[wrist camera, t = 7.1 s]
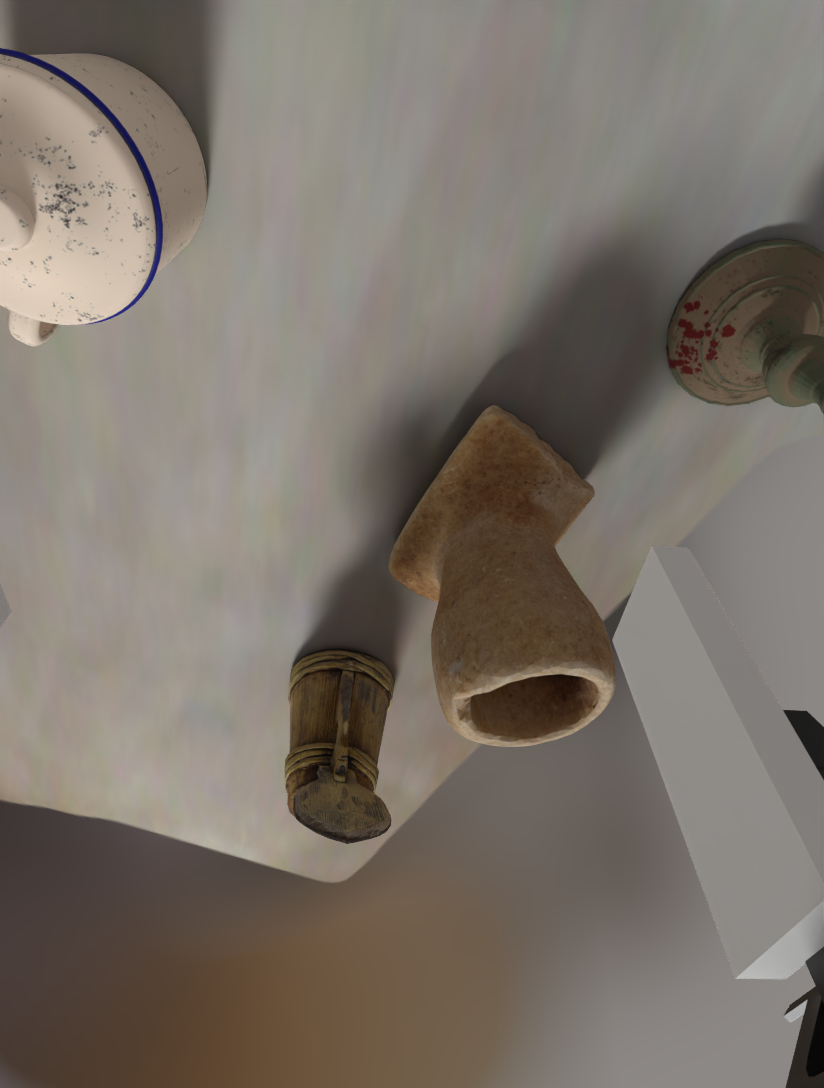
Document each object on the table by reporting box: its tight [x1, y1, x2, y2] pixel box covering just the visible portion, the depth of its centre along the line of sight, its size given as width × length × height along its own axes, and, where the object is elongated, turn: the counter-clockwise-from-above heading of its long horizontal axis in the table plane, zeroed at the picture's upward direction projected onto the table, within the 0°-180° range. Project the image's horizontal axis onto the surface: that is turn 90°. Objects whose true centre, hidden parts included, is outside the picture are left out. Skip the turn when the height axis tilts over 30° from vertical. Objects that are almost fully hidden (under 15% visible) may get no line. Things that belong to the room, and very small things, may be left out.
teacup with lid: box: [0, 48, 207, 346], centre depth 26 cm, size 12×9×12 cm
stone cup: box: [389, 405, 616, 747], centre depth 37 cm, size 15×12×15 cm
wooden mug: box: [285, 649, 394, 844], centre depth 46 cm, size 9×14×18 cm, turn 165°
